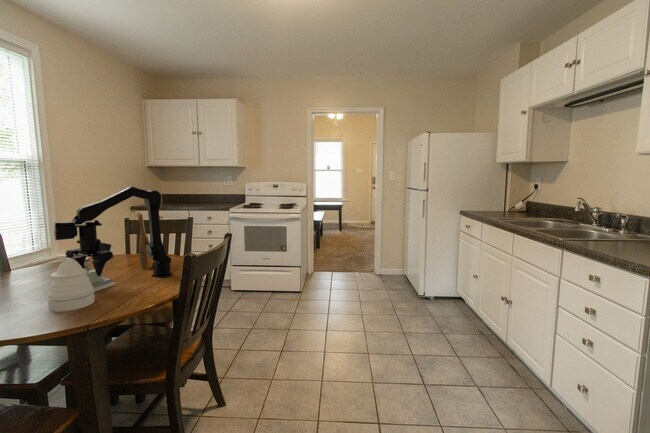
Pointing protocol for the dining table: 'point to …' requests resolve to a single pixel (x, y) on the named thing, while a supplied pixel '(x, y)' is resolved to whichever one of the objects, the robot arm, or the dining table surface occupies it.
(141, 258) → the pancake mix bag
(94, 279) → the pale green block
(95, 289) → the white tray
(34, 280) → the dining table surface
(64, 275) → the honey pot
